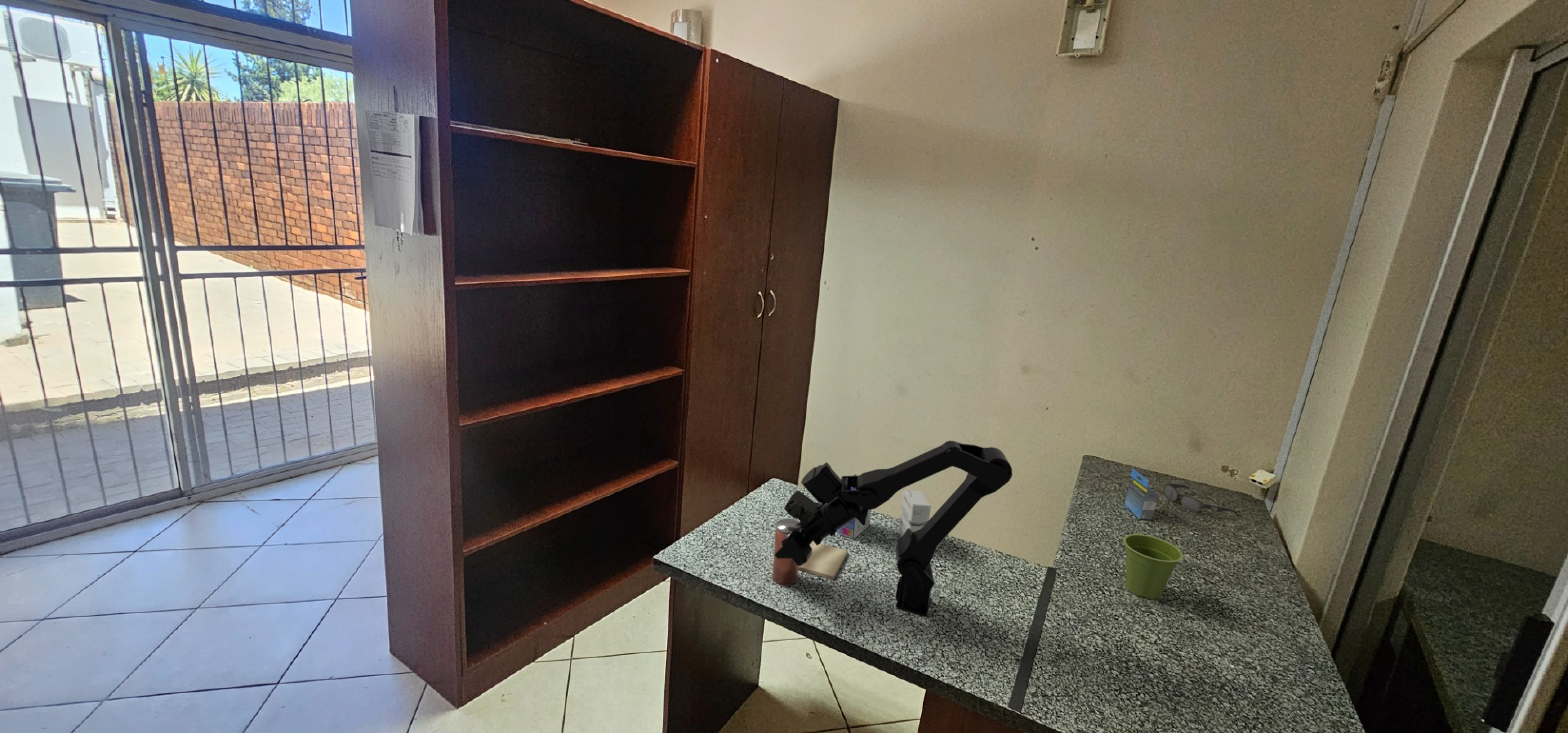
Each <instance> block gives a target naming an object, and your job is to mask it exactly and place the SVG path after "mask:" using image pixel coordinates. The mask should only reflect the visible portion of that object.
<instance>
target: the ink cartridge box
mask: <svg viewBox="0 0 1568 733" xmlns="http://www.w3.org/2000/svg"><path fill="white" fill-rule="evenodd" d="M853 476H858V474H856V473H855V474H854V475H853ZM851 490H855V488H853V487H851ZM871 512H872V510H868V514H867V520H866V524H865V525H862V524H861V523H860V522H859V521H858V520H857V519H854V520H853V521H851V522H849V523H848V524H846V525H845V526H843V527H841V528H840V529H838V530H837V532H836V533H837V534H839V535H841V536H844V537H847V538H849V539H851V540H854V539H856V538H857V537H858V536H859V535H860V534H861V533H862V532H864V531H865V530H866V529H867V528H868V527H869V526H870V525H871V524H870V523H871Z"/></svg>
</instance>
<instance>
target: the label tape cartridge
mask: <svg viewBox="0 0 1568 733" xmlns="http://www.w3.org/2000/svg"><path fill="white" fill-rule="evenodd" d="M1139 478H1140V479H1139ZM1128 484H1129V485H1128V488H1127V492H1126V498H1125V502H1124V506H1125V505H1126V506H1127V507H1126V508H1127V509H1128V508H1129V509H1128V510H1129V511H1130V512H1131V513H1133V514H1134V515H1135V516H1136V517H1137V518H1138V519H1139V520H1146V521H1148V520H1149V521H1151V520H1153V516H1154V512H1155V509H1156V504H1157V501H1158V497H1159V494H1158V493H1157V492H1156V491H1154V490H1153V489H1152V488H1151V487H1150V486H1149V479H1148V478H1147V477H1145V476H1143V475H1142V474H1141V473H1139V472H1138V471H1137V470H1136V469H1134V468H1133V467H1132V470H1131V474H1130V479H1129V483H1128Z"/></svg>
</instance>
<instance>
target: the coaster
mask: <svg viewBox="0 0 1568 733" xmlns="http://www.w3.org/2000/svg"><path fill="white" fill-rule="evenodd" d="M810 546H811V548H812V555H811V556H810V558H809V559H808V561H807V562H806V563H805V564H803V565H801V566H798V571H801V572H805V573H808V574H813V575H816V576H819V577H823V578H826V579H829V580H834V579H835V578H836V575H837V574H838V572H839V570H840V568H841V567H842V565H843V563H844V561H845V559H846V557H847V556H848V553H849V550H846V549H842V548H838V547H834V546H831V545H827V544H825V543H820V544H819V545H816V544H815V543H814V541H812V543H811V544H810Z"/></svg>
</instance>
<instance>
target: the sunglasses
mask: <svg viewBox="0 0 1568 733" xmlns="http://www.w3.org/2000/svg"><path fill="white" fill-rule="evenodd" d="M1163 487H1164V488H1163V490H1164V492H1163V493H1164V497H1165V496H1166V497H1167V498H1168V499H1170V500H1172V501H1173V502H1177V501H1179V499H1180V500H1181V501H1180V502H1181V506H1182V508H1183V509H1184V508H1185V509H1187V510H1189V511H1188V512H1190V513H1192V514H1197V513H1198V512H1199V510H1201V509H1207V510H1208V509H1209V510H1212V511H1214V512H1216V513H1217V512H1218V513H1219V512H1232V513H1233V514H1235V515H1236V514H1237V513H1239V512H1238V511H1237V510H1234V509H1232V508H1226V507H1223V506H1222V507H1221V506H1217V505H1212V504H1208V503H1204V502H1202V501H1201V500H1199V499H1197V498H1195V497H1193V496H1191V495H1188V494H1183V493H1181V492H1179V490H1178V488H1185V489H1188V490H1190V491H1191V492H1193V493H1194V492H1198V491H1197V490H1195V489H1193V488H1191V487H1189V486H1187V485H1185V484H1179V483H1178V484H1177V483H1168V482H1166V483H1164V486H1163ZM1166 497H1165V498H1166ZM1167 498H1166V499H1167ZM1168 499H1167V500H1168ZM1173 502H1172V503H1173ZM1185 509H1184V510H1185ZM1187 510H1186V511H1187ZM1237 515H1238V514H1237Z"/></svg>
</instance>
